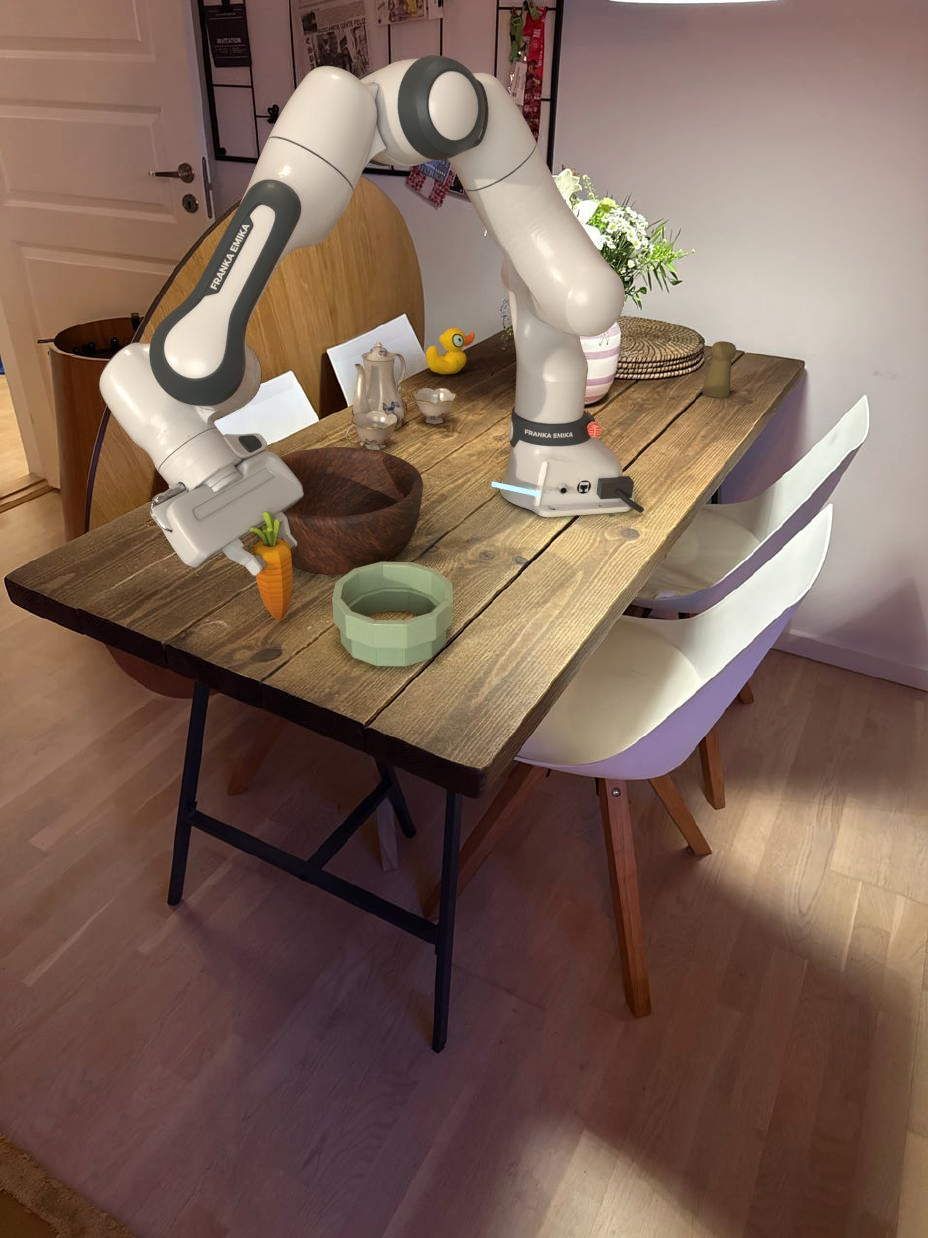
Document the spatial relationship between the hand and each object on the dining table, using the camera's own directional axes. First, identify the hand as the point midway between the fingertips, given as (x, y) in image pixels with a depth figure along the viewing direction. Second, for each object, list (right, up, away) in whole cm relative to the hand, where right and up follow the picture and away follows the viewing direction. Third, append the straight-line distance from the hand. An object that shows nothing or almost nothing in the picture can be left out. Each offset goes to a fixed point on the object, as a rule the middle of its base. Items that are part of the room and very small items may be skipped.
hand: (277, 560), depth 107 cm
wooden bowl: (+4, +4, +23) cm, 24 cm away
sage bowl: (+14, -9, +3) cm, 17 cm away
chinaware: (+9, +30, +62) cm, 69 cm away
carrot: (-1, -8, +5) cm, 9 cm away
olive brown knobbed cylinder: (+79, +43, +85) cm, 123 cm away
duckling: (+20, +49, +91) cm, 105 cm away
